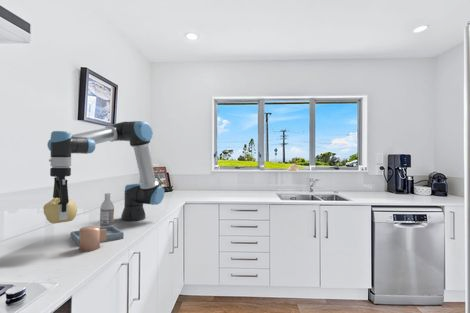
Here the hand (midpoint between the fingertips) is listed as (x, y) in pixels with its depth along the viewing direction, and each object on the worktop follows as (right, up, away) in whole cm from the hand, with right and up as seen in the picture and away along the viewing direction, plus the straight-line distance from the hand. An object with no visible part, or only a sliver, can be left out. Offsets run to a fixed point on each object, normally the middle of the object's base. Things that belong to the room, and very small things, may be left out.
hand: (60, 216), depth 118 cm
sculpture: (0, -3, 0) cm, 3 cm away
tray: (+7, -15, +18) cm, 24 cm away
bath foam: (+3, -15, +35) cm, 39 cm away
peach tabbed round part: (+12, -15, +4) cm, 20 cm away
